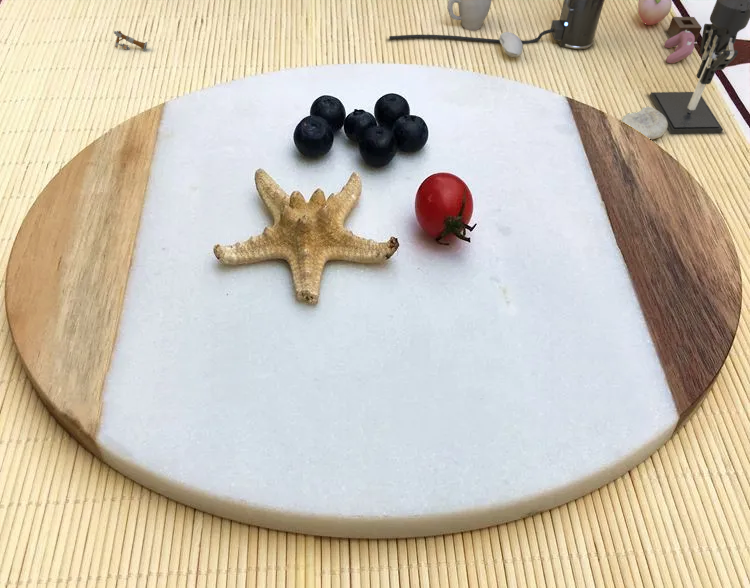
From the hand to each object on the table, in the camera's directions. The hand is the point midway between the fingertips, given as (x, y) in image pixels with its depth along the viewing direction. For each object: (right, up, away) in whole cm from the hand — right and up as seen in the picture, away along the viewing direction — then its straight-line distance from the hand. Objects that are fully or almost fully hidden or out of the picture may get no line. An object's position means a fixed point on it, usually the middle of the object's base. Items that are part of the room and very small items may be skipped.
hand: (702, 80), depth 151 cm
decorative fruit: (+2, +31, +35) cm, 47 cm away
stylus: (0, -5, +6) cm, 8 cm away
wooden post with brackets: (-136, +17, +21) cm, 138 cm away
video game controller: (+5, +17, +25) cm, 31 cm away
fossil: (-12, -10, +4) cm, 16 cm away
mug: (-49, +29, +32) cm, 65 cm away
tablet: (0, -4, +8) cm, 9 cm away
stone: (-39, +16, +23) cm, 48 cm away
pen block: (+9, +25, +31) cm, 41 cm away
